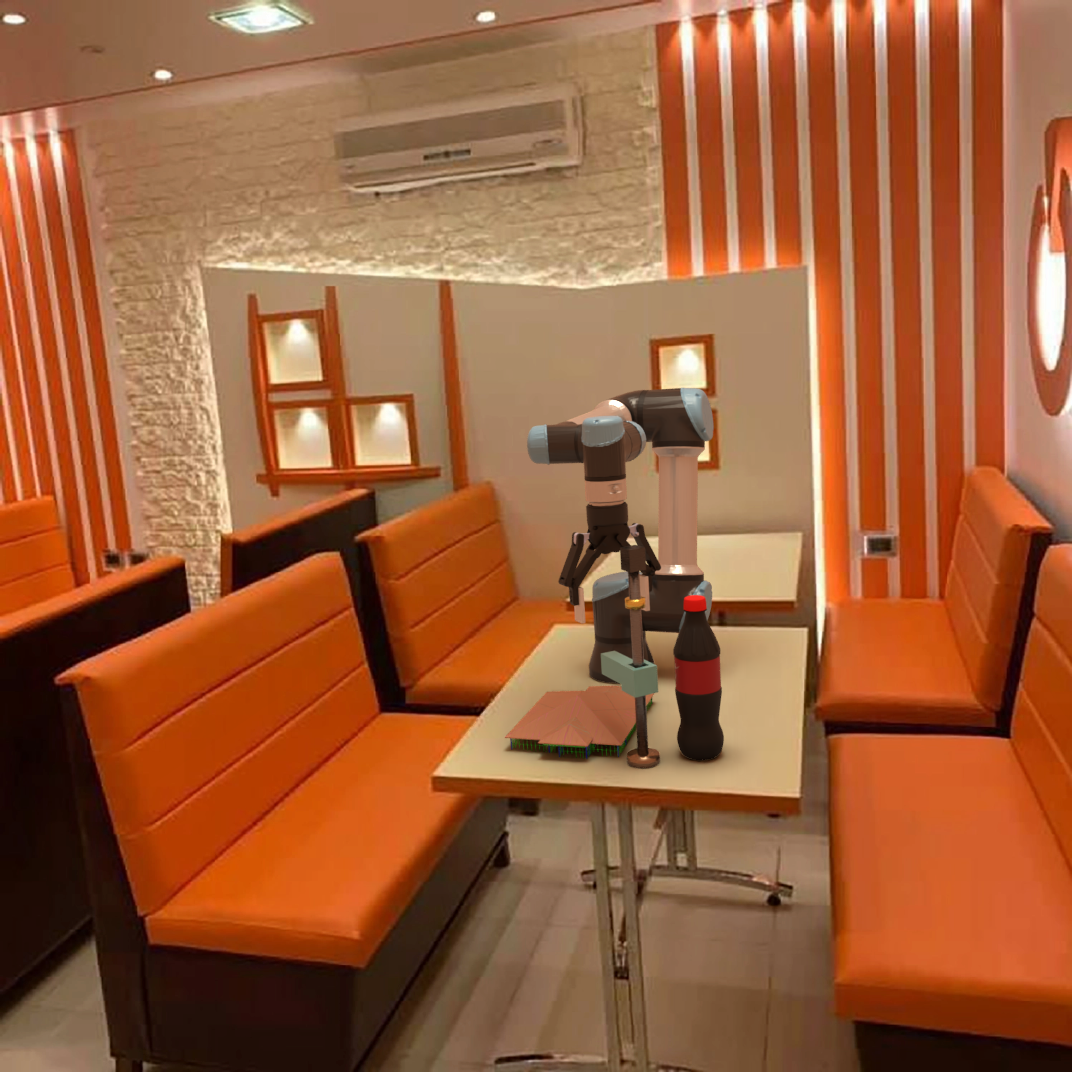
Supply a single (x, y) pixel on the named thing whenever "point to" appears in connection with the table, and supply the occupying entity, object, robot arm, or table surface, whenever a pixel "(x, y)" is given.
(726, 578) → the table surface
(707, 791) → the table surface
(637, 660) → the post stand
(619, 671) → the teal block with hole
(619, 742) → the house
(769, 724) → the table surface
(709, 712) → the cola bottle
